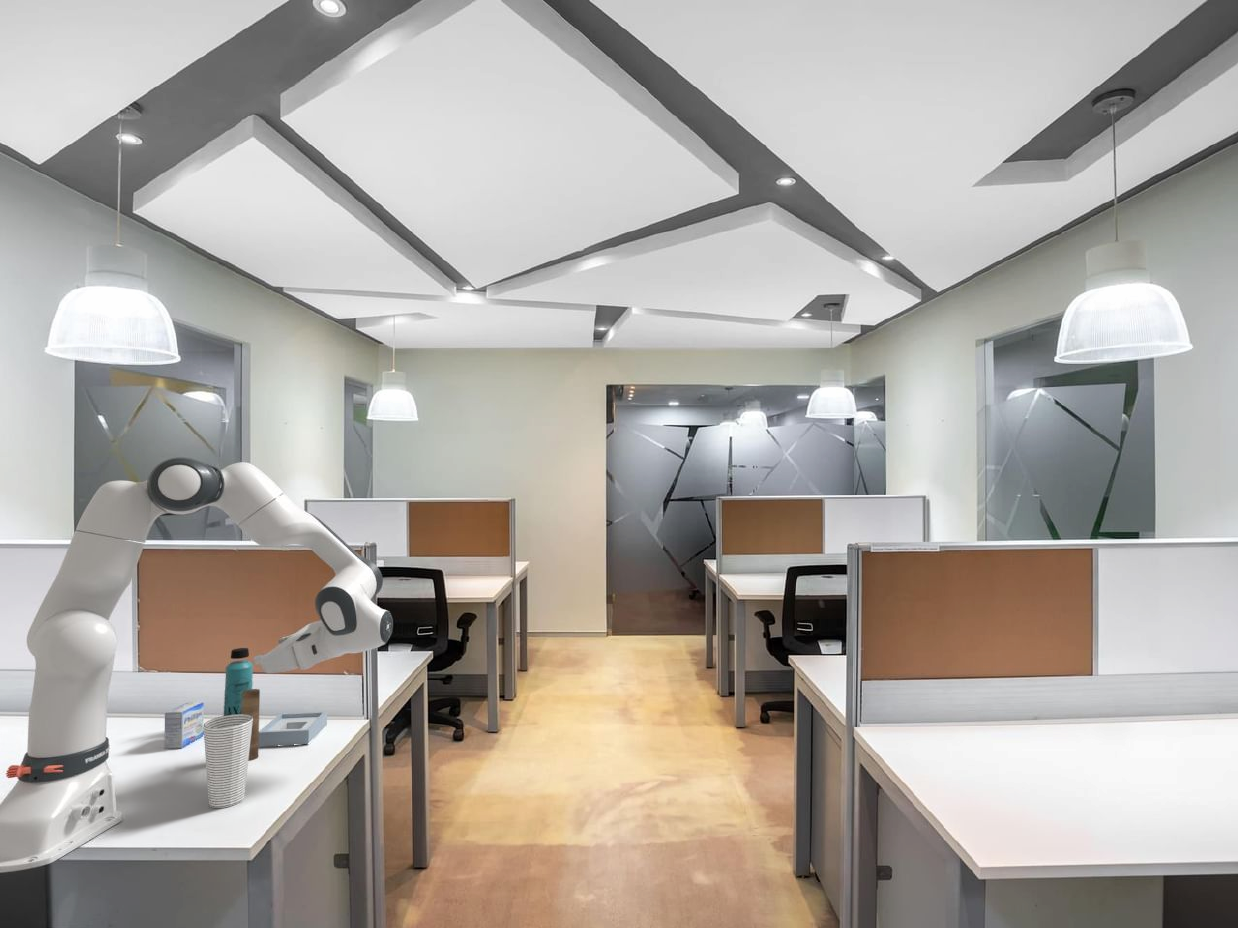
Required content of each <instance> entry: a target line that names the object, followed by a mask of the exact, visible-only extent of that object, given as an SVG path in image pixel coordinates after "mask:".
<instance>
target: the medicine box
mask: <svg viewBox="0 0 1238 928" xmlns="http://www.w3.org/2000/svg"><path fill="white" fill-rule="evenodd" d="M204 712H205V703H204V701H190V702H189V701H188V702H186V703H183V704H181V705H179V706H177V707H174V708H172V709H171V710H168V711H166V712H164V743H163V744H164V745H163V747H164V749H184V748H186V747H187V746H189V745H191V744H193V743H194V742H195V740H196V741H197V739H198V740H199V739H201V738H202V737H203V738H204V727H203V726H204V720H205V719H204ZM190 743H191V744H190Z"/></svg>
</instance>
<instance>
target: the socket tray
mask: <svg viewBox="0 0 1238 928" xmlns="http://www.w3.org/2000/svg"><path fill="white" fill-rule="evenodd" d="M327 725H328V711H311V712H284V713H283V712H282V713H279V714H278V715H277V716H275V717H274V718H273V719H271V721H269V722H268V723H267V724H266V725H264V727H262V728H261V729H259V748H266V747H265V746H278V745H294V744H308V743H309V742H310V741H311V740H312V739H313V738H314V737H315V736H316V735H317V734H318V733H319V732H320V731H321V730H322V729H323V728H324V727H325V726H326V727H327ZM326 727H325V728H326ZM325 728H324V729H325ZM324 729H323V730H324ZM323 730H322V731H323ZM322 731H321V732H322ZM321 732H320V733H321ZM320 733H319V734H320ZM319 734H318V735H319ZM318 735H317V736H318ZM317 736H316V737H317ZM316 737H315V738H316ZM315 738H314V739H315ZM278 747H279V746H278Z"/></svg>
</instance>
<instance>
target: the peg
mask: <svg viewBox="0 0 1238 928" xmlns="http://www.w3.org/2000/svg"><path fill="white" fill-rule="evenodd" d="M260 691H261V689H259V688H252V689H250V690H245V691H243V692H242V704H241V714H248V715H251V716H253V724H252V733H251V741H250V750H249V759H248V762H250V761H253V760H257V759H258V758H259V748H260V747H259V731H260V693H261V692H260Z"/></svg>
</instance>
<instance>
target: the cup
mask: <svg viewBox="0 0 1238 928" xmlns="http://www.w3.org/2000/svg"><path fill="white" fill-rule="evenodd" d="M252 724H253V716H251V715H248V714H233V715H226V716H223V715H222V716H218V717H214V718H212V719H209V720H208V721H206V722H204V723H203V740H204V752H205V753H204V755H205V766H206V767H205V768H206V770H205V771H206V781H207V784H206V785H207V796H208V806H209V807H211V808H212V809H222V808H228V807H232V806H235V805H238V804H239V803H241V802H242V801H243V800H244V798H245V795H246V786H247V785H246V783H247V777H248V766H249V761H248V759H249V750H250V741H251V733H252Z"/></svg>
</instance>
